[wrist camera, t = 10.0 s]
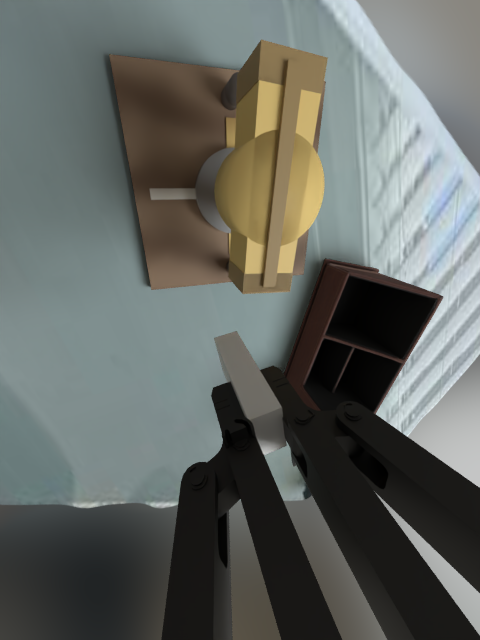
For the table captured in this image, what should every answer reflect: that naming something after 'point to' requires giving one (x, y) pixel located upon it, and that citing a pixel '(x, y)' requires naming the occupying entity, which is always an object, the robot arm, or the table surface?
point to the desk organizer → (356, 336)
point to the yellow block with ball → (272, 166)
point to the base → (182, 165)
